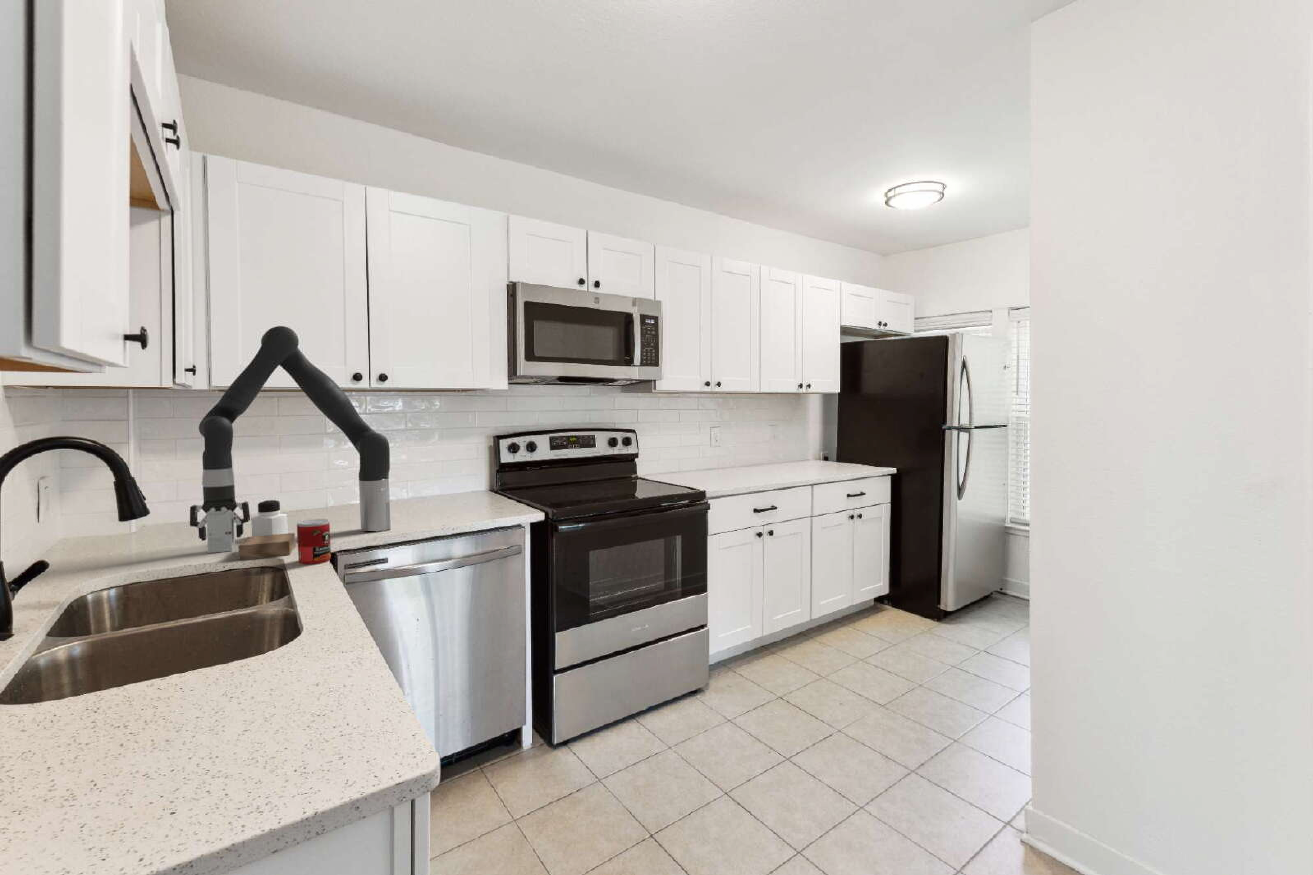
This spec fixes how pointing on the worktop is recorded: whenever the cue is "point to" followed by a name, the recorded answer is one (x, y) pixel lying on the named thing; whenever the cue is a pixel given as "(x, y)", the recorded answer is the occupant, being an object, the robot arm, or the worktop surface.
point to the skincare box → (220, 531)
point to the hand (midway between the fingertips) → (221, 538)
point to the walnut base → (267, 546)
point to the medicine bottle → (269, 519)
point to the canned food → (313, 541)
